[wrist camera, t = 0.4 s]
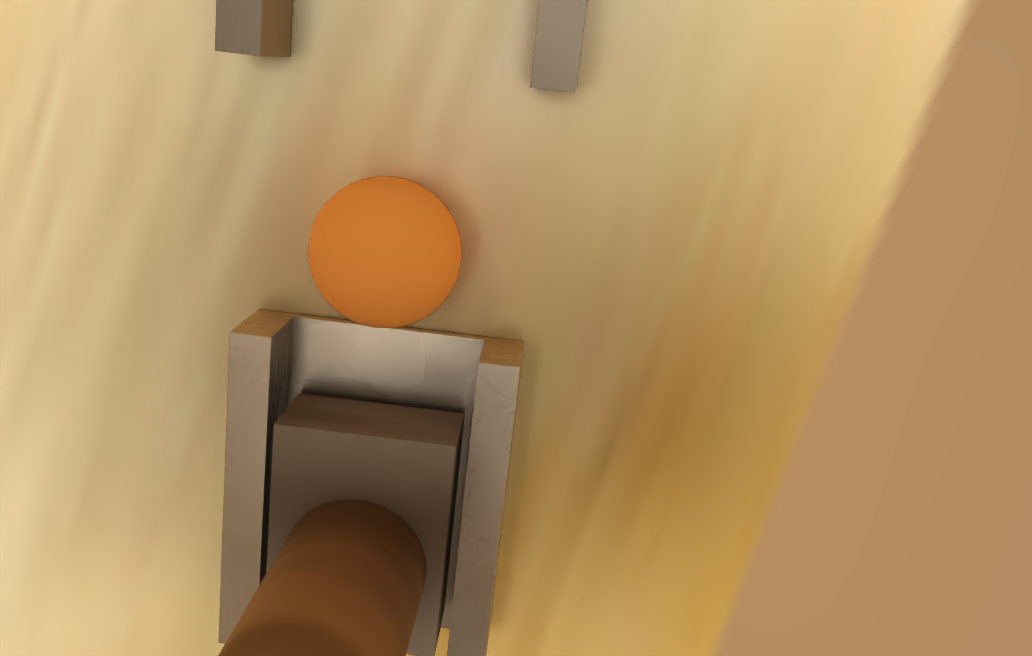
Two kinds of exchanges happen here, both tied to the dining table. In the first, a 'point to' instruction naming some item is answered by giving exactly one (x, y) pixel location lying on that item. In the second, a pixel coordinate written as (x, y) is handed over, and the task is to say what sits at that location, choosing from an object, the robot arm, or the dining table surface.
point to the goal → (268, 22)
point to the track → (380, 379)
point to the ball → (384, 252)
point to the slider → (355, 531)
